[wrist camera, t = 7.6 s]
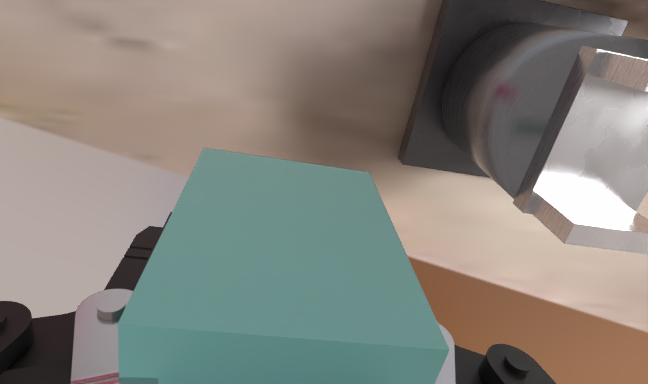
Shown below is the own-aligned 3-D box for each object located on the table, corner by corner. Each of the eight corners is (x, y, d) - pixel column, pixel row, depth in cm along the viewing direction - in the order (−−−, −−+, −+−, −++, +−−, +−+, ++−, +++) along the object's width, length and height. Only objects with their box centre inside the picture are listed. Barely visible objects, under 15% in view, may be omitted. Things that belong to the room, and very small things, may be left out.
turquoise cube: (203, 147, 12) (117, 323, 6) (369, 172, 13) (449, 350, 7) (193, 295, 14) (122, 534, 8) (333, 308, 15) (367, 534, 9)
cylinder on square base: (449, -19, 30) (604, -23, 16) (614, 19, 33) (883, 47, 18) (397, 157, 36) (476, 274, 22) (540, 179, 39) (698, 298, 24)
